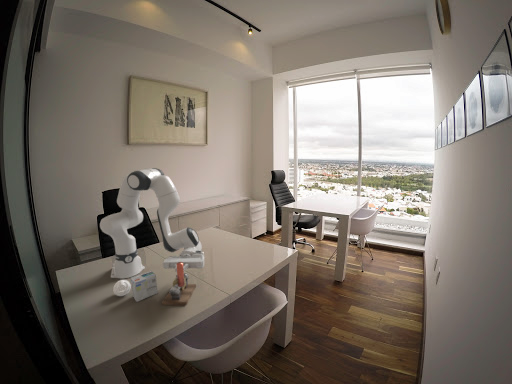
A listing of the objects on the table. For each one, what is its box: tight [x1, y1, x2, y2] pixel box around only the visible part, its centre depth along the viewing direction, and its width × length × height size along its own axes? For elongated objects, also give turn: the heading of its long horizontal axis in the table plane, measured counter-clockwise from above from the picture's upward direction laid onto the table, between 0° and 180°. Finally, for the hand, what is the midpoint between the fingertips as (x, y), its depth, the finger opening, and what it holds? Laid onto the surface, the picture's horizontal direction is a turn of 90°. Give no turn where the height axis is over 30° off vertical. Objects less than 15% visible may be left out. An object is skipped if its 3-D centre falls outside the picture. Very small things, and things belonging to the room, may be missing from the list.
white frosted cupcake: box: [112, 279, 132, 297], centre depth 120 cm, size 8×8×8 cm
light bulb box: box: [130, 270, 158, 303], centre depth 119 cm, size 11×7×11 cm, turn 134°
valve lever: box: [175, 262, 185, 288], centre depth 112 cm, size 3×13×13 cm, turn 24°
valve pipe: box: [168, 272, 189, 300], centre depth 118 cm, size 14×5×7 cm, turn 178°
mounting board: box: [161, 283, 197, 306], centre depth 119 cm, size 16×12×2 cm
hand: (179, 270), depth 109 cm, fingers closed
